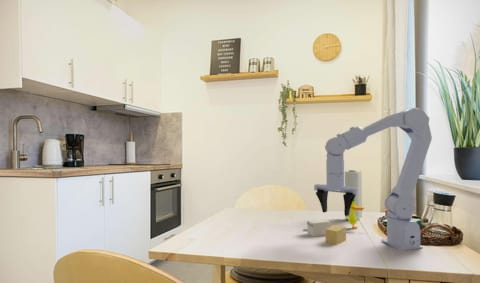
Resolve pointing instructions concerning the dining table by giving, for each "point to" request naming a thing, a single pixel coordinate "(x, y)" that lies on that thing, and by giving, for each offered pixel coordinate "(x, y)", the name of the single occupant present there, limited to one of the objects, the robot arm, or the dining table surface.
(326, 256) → the dining table surface
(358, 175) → the paper towel roll
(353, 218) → the toy figure
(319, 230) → the cream brick
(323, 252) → the dining table surface
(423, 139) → the robot arm
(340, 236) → the ochre brick
